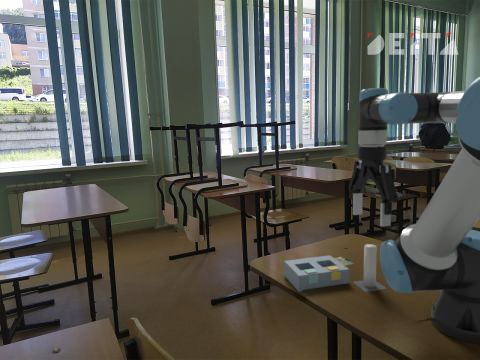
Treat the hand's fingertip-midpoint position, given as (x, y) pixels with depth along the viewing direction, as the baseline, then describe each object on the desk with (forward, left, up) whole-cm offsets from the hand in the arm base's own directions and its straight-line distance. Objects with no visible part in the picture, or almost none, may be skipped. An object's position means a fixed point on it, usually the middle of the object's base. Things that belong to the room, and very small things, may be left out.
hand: (370, 219), depth 108 cm
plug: (0, 0, -20) cm, 20 cm away
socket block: (+9, +13, -20) cm, 26 cm away
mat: (0, 0, -20) cm, 20 cm away
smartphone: (+18, +3, -21) cm, 28 cm away
